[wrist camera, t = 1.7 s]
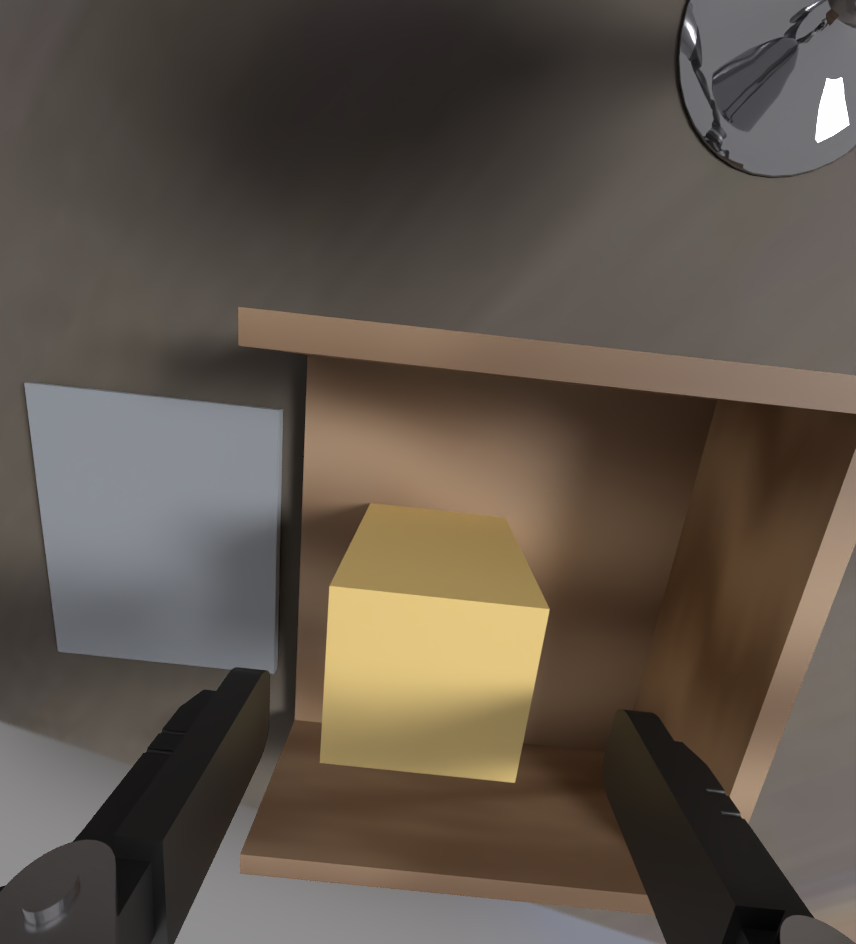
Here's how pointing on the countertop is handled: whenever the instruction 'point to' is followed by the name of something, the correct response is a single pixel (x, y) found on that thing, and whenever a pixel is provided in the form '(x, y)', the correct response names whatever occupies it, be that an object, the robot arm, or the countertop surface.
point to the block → (431, 646)
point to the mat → (160, 525)
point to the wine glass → (771, 81)
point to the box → (563, 584)
